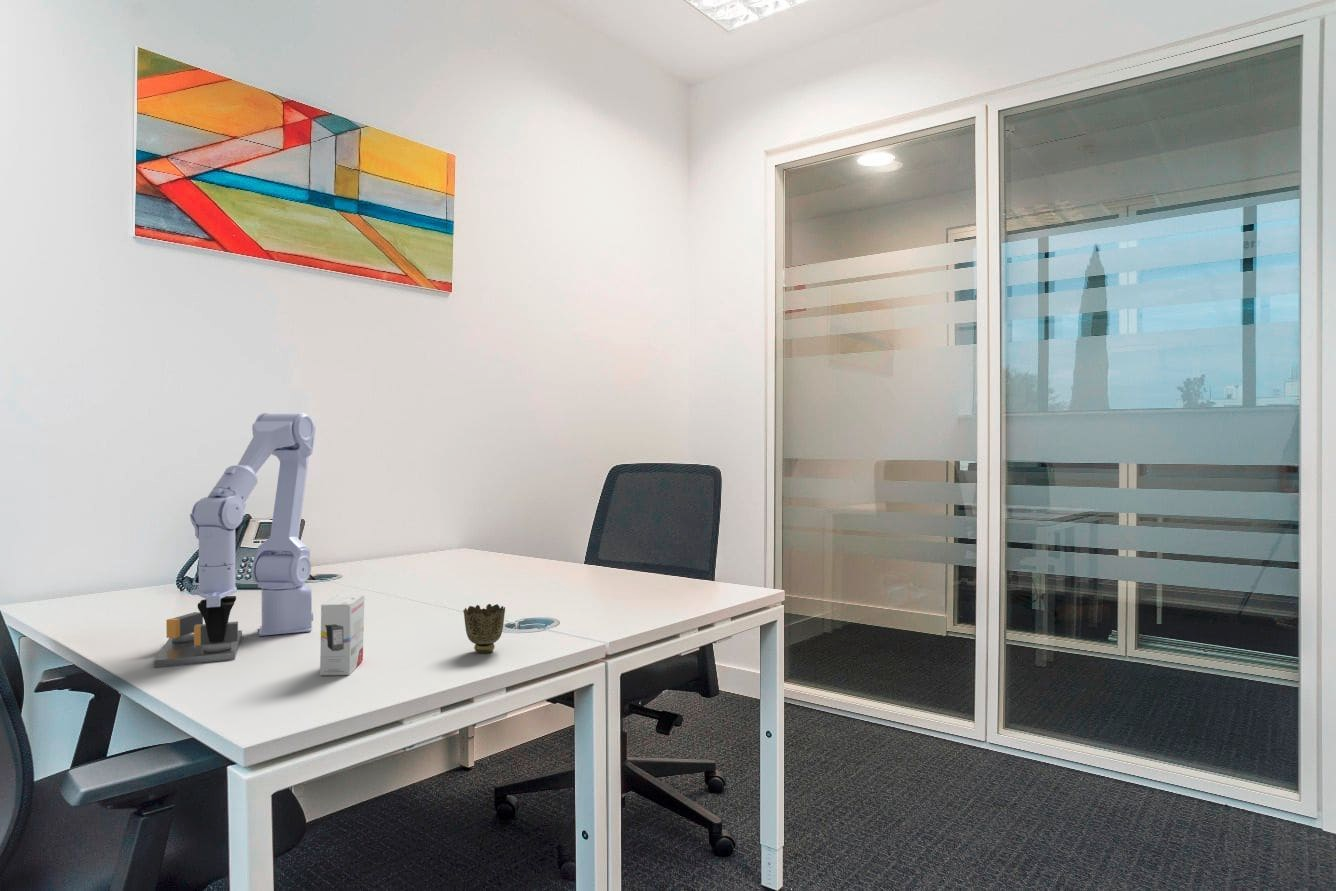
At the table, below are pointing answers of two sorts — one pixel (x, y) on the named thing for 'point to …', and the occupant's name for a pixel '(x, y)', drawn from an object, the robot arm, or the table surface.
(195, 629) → the knob
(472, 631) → the cup
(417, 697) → the table surface
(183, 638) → the knob
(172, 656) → the plate
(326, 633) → the ink box
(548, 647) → the table surface
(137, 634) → the table surface
